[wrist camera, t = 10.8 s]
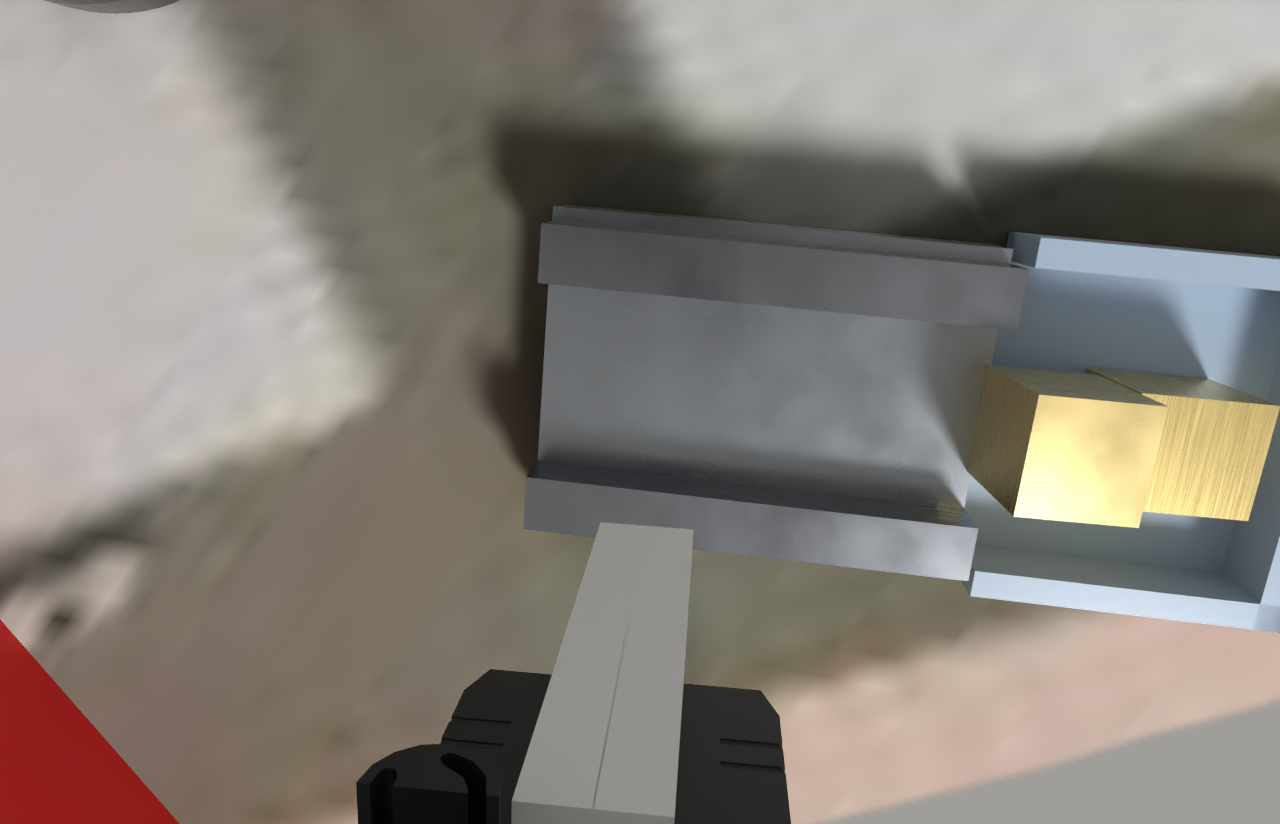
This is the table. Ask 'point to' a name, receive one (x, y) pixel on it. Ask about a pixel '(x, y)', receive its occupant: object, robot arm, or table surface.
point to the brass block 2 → (1204, 444)
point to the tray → (1159, 344)
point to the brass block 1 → (1065, 445)
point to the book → (59, 755)
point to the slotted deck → (766, 385)
